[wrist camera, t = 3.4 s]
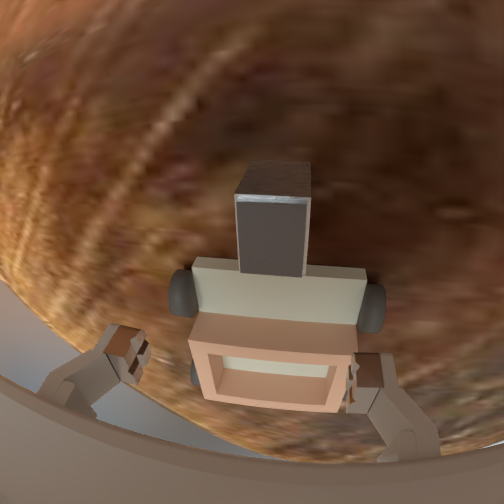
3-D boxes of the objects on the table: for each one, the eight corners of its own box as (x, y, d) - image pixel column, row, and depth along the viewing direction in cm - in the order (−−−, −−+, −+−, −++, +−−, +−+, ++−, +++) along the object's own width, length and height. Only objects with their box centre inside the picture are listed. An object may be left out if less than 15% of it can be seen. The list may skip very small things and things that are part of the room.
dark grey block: (252, 159, 22) (232, 197, 16) (310, 162, 21) (311, 201, 16) (254, 222, 24) (237, 275, 19) (307, 225, 24) (305, 280, 18)
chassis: (180, 255, 27) (158, 293, 23) (382, 269, 25) (392, 312, 21) (204, 366, 36) (193, 400, 32) (348, 379, 34) (348, 416, 29)
